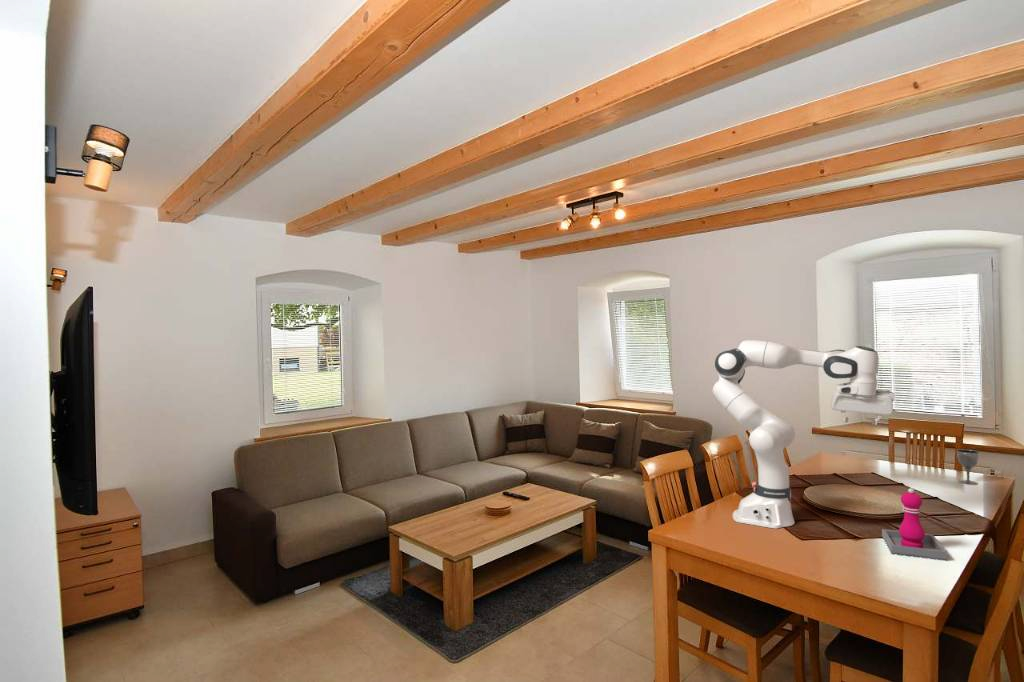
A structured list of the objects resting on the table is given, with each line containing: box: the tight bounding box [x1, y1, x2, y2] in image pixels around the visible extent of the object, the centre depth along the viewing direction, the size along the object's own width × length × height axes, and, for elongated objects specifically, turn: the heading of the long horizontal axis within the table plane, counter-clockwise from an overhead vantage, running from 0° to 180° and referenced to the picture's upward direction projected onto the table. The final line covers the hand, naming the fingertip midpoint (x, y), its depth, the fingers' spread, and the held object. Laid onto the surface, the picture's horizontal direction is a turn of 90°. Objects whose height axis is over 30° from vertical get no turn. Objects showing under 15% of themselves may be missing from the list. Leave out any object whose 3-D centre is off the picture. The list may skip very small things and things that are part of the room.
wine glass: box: [956, 448, 980, 486], centre depth 256 cm, size 8×8×15 cm
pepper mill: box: [898, 487, 926, 548], centre depth 187 cm, size 7×7×20 cm
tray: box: [881, 528, 948, 562], centre depth 187 cm, size 15×16×3 cm
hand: (859, 423), depth 211 cm, fingers open, 8 cm apart
